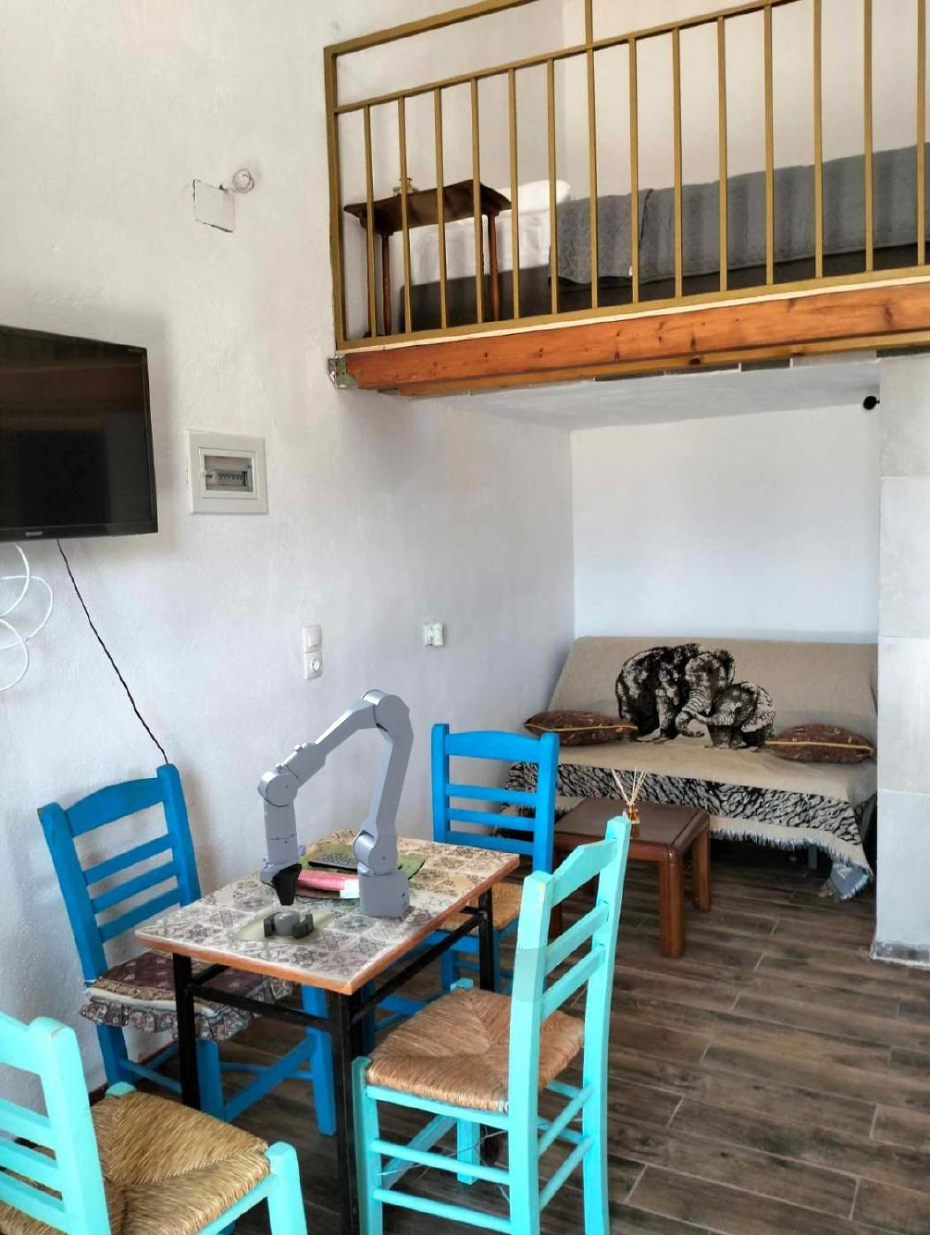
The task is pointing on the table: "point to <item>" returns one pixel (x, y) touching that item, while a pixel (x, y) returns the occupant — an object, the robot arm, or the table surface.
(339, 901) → the table surface
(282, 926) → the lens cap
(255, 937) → the board
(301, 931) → the split dark grey block
